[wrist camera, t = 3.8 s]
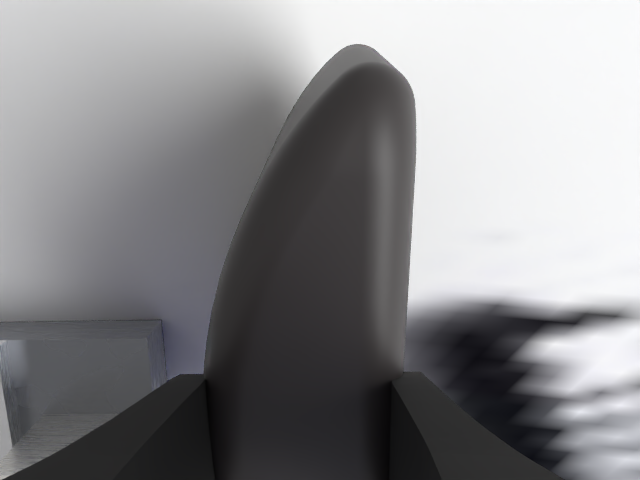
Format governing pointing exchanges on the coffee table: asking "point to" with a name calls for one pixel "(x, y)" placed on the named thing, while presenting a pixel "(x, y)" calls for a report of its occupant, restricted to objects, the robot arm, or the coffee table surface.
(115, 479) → the robot arm
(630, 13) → the coffee table surface
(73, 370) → the rail plate
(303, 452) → the leaning round-cornered charcoal block
